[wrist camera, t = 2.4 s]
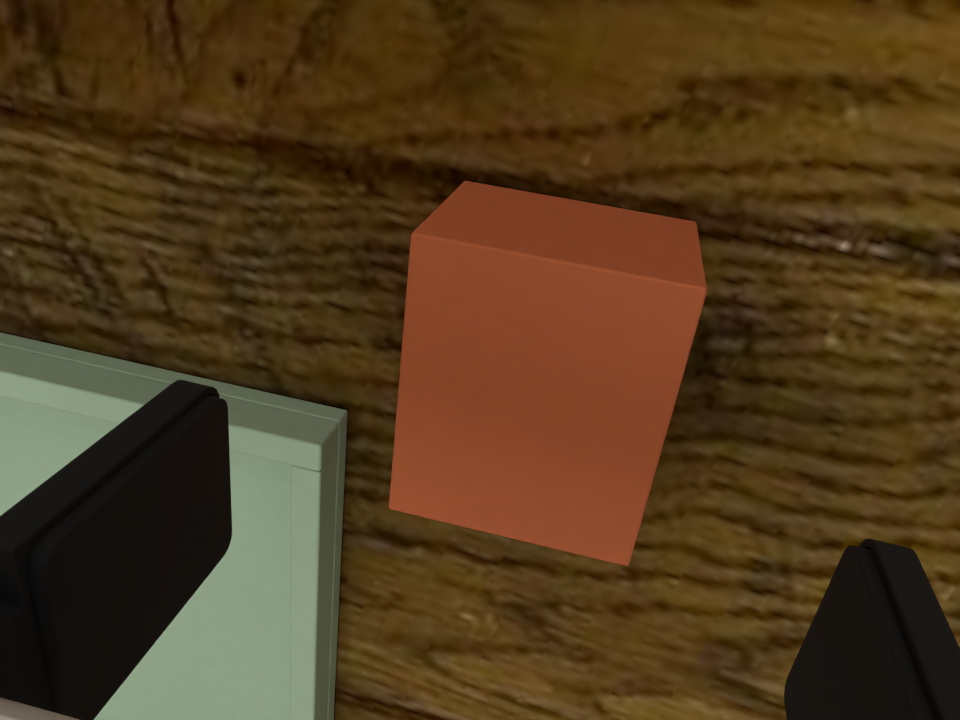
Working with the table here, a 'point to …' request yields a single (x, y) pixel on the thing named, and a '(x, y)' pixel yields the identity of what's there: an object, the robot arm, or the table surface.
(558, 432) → the terracotta block
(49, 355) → the sage green tray
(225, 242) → the table surface
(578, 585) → the table surface
